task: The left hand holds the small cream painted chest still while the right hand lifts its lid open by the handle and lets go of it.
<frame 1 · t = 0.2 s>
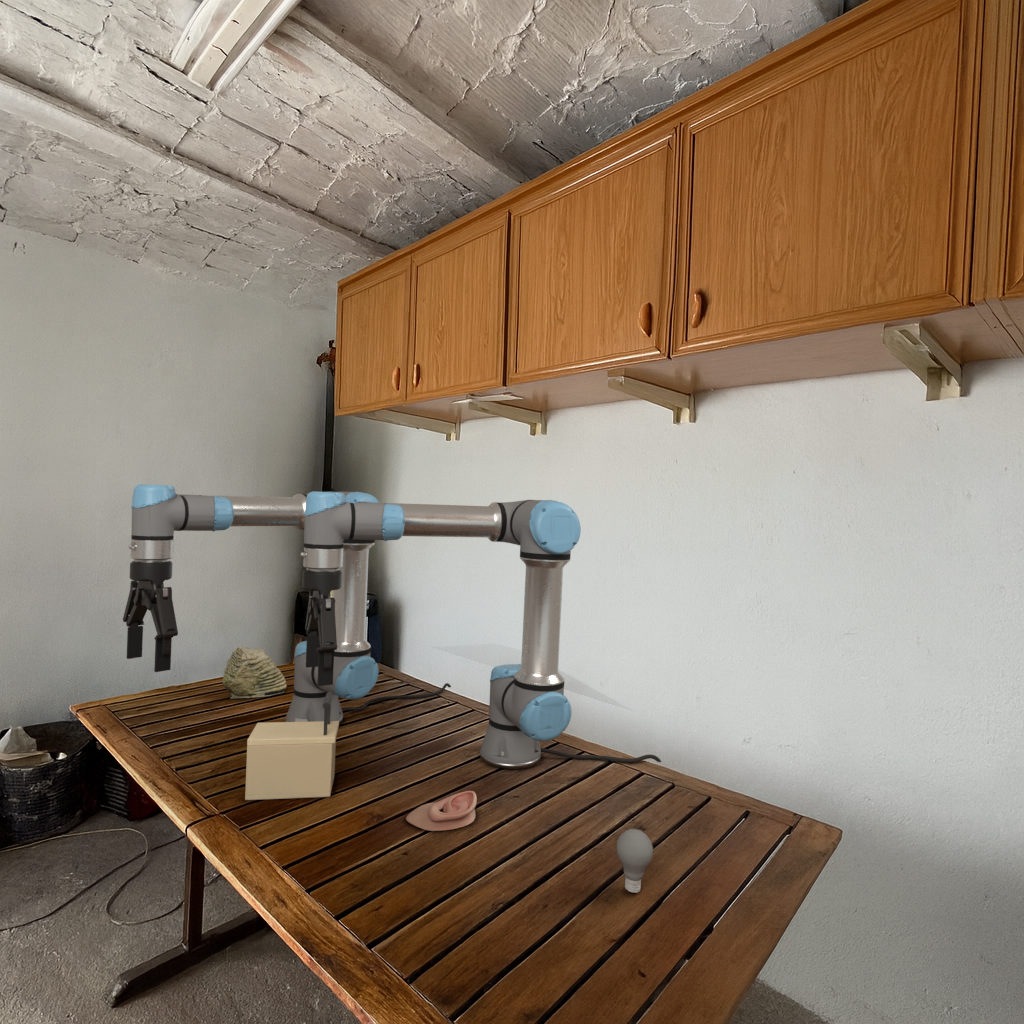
left hand: (147, 664, 129), 28 cm above the table, tool pointing down, fingers open, 13 cm apart
right hand: (318, 675, 126), 28 cm above the table, tool pointing down, fingers open, 13 cm apart
chest: (291, 787, 137), on the table
fossil: (254, 694, 198), on the table
light bulb: (632, 891, 106), on the table
anatomical model: (441, 818, 127), on the table
lid: (295, 716, 137), point 16 cm above the table, hinge at 0.0°
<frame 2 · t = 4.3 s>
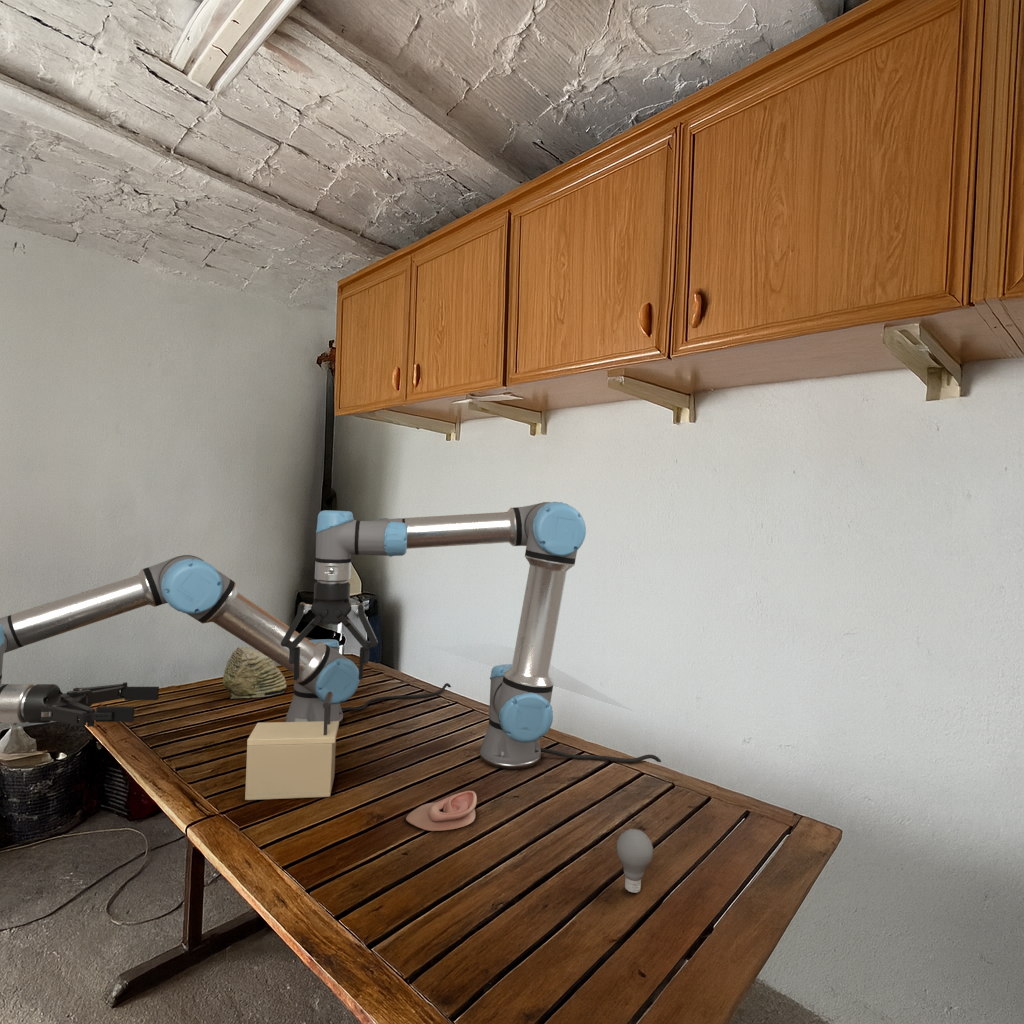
left hand: (146, 703, 132), 19 cm above the table, tool horizontal, fingers open, 13 cm apart
right hand: (328, 678, 138), 24 cm above the table, tool pointing down, fingers open, 13 cm apart
nothing on the table moved.
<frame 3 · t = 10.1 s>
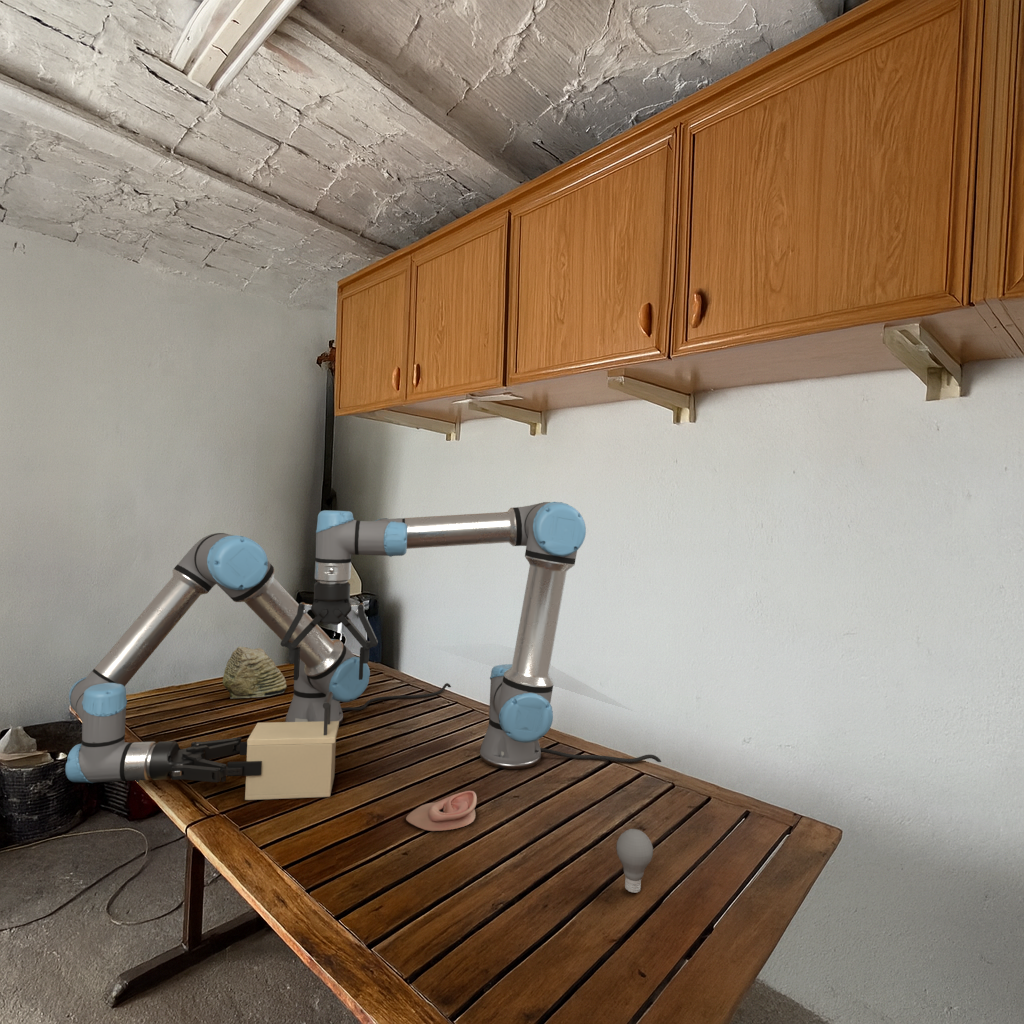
left hand: (266, 757, 136), 7 cm above the table, tool horizontal, fingers closed on chest, 10 cm apart
right hand: (328, 678, 138), 24 cm above the table, tool pointing down, fingers open, 13 cm apart
chest: (291, 787, 137), on the table, touching left hand
everything else where it was.
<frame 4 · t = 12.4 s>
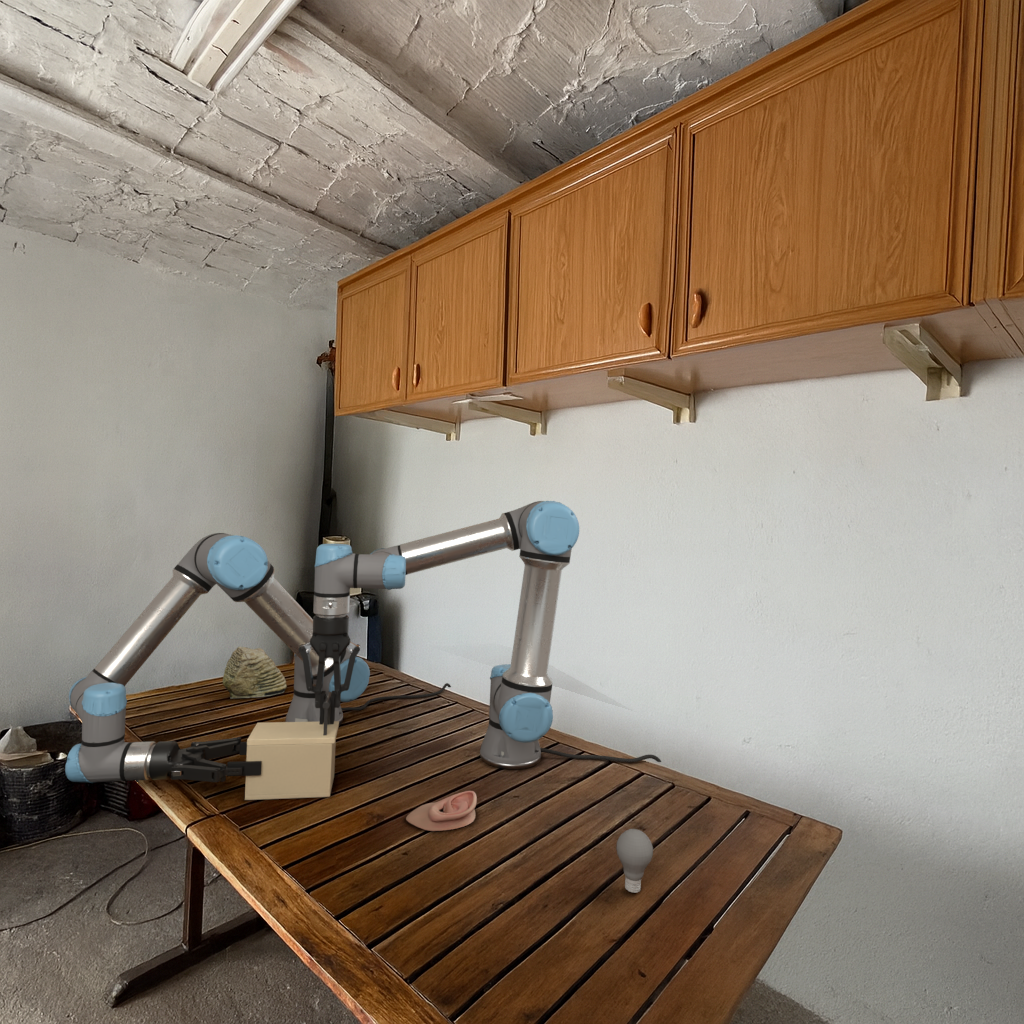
left hand: (266, 757, 136), 7 cm above the table, tool horizontal, fingers closed on chest, 10 cm apart
right hand: (327, 722, 138), 14 cm above the table, tool pointing down, fingers closed on lid, 1 cm apart
chest: (291, 787, 137), on the table, touching left hand
lid: (295, 716, 137), point 16 cm above the table, hinge at -0.1°, touching right hand
everything else where it was.
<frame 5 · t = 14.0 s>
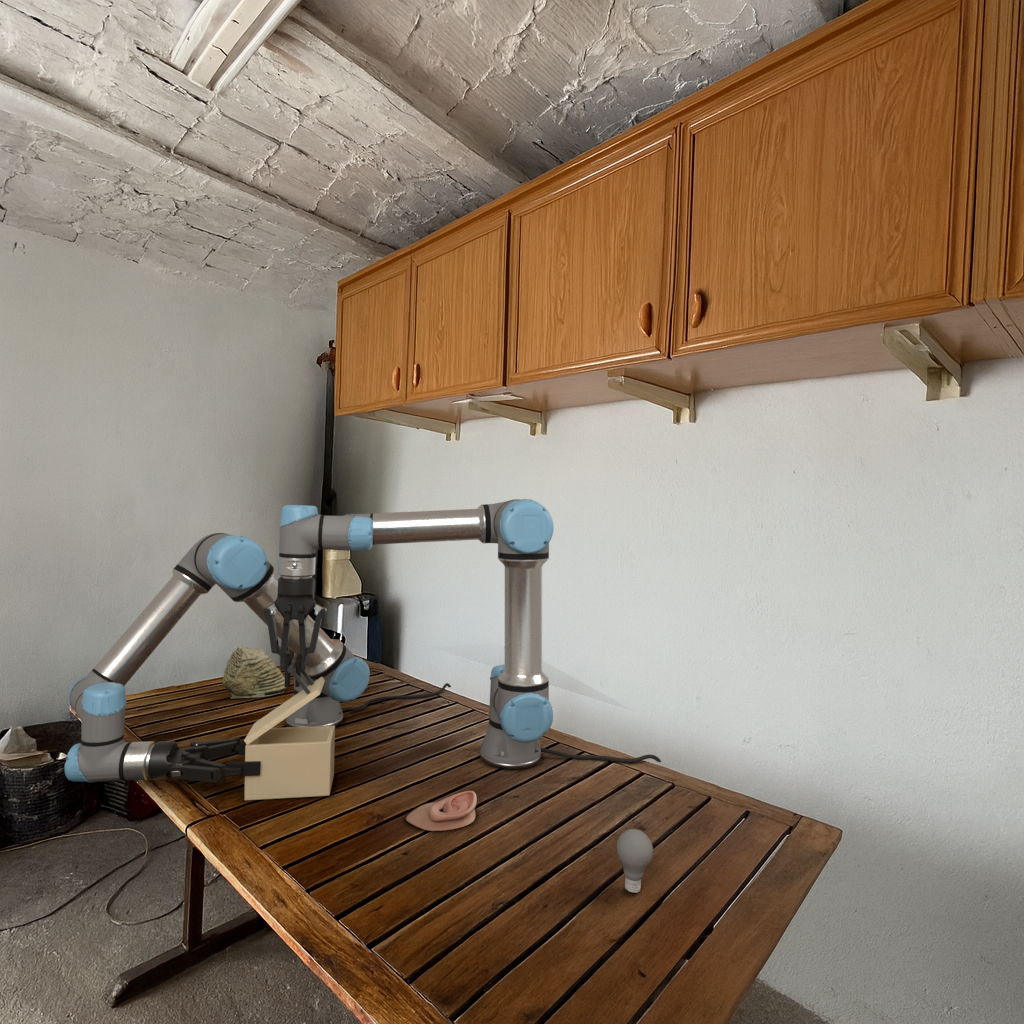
left hand: (265, 757, 136), 7 cm above the table, tool horizontal, fingers closed on chest, 10 cm apart
right hand: (292, 685, 137), 22 cm above the table, tool pointing down, fingers closed on lid, 1 cm apart
chest: (291, 787, 137), on the table, touching left hand
lid: (276, 696, 136), point 20 cm above the table, hinge at 35.4°, touching right hand
everything else where it was.
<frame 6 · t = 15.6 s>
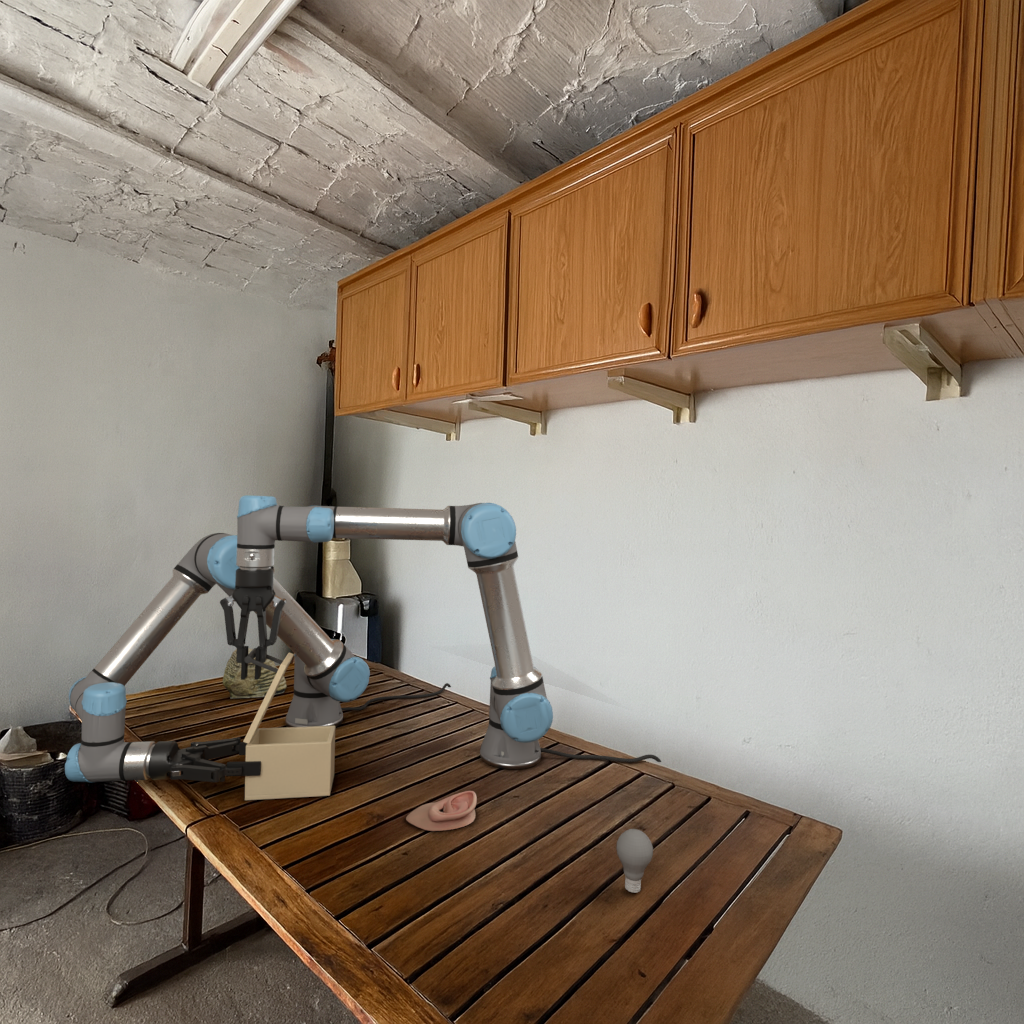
left hand: (265, 757, 136), 7 cm above the table, tool horizontal, fingers closed on chest, 10 cm apart
right hand: (250, 677, 135), 24 cm above the table, tool pointing down, fingers open, 2 cm apart
chest: (291, 787, 137), on the table, touching left hand
lid: (253, 689, 135), point 21 cm above the table, hinge at 65.9°
everything else where it was.
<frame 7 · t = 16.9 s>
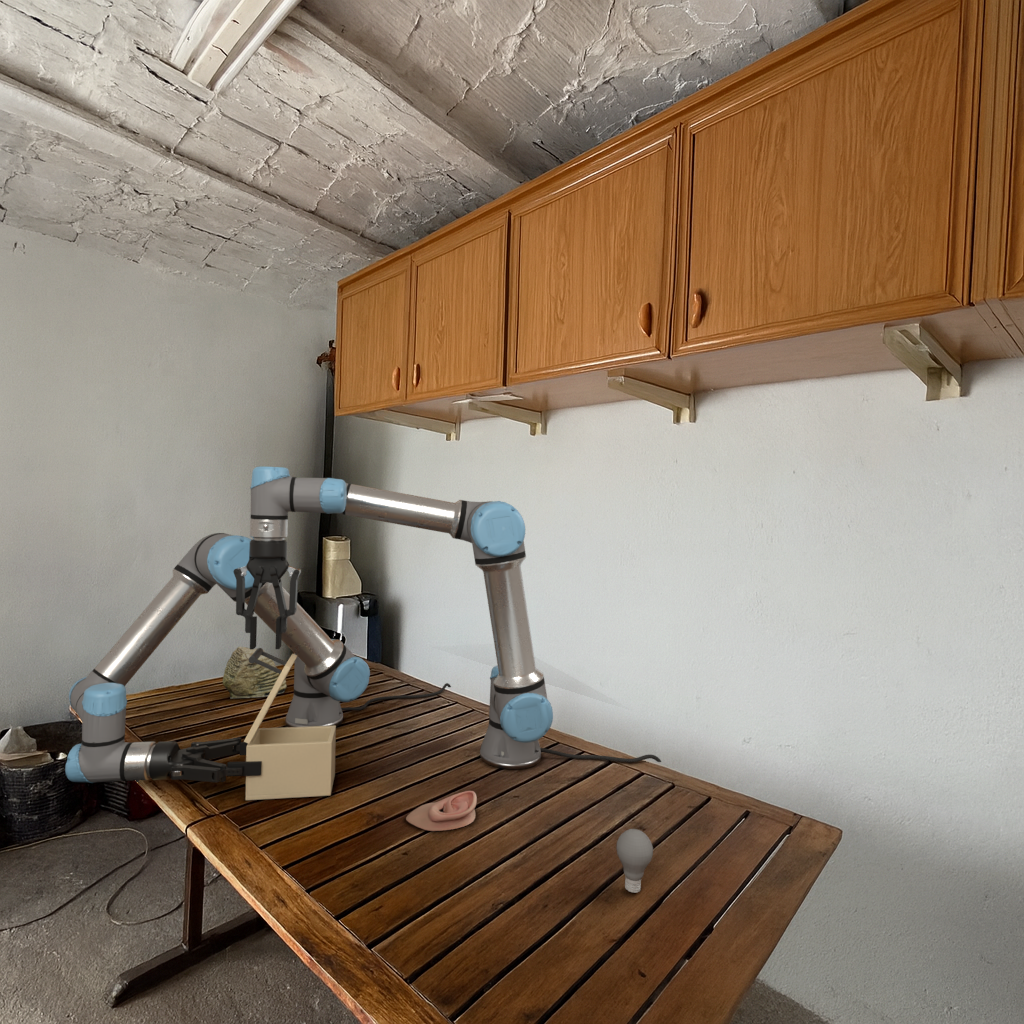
left hand: (266, 757, 136), 7 cm above the table, tool horizontal, fingers closed on chest, 10 cm apart
right hand: (265, 647, 136), 31 cm above the table, tool pointing down, fingers open, 4 cm apart
chest: (292, 787, 137), on the table, touching left hand
lid: (256, 690, 135), point 21 cm above the table, hinge at 63.4°
everything else where it was.
when the left hand's fingers open (7 cm above the table, at t = 19.4 s): chest stays where it is, on the table.
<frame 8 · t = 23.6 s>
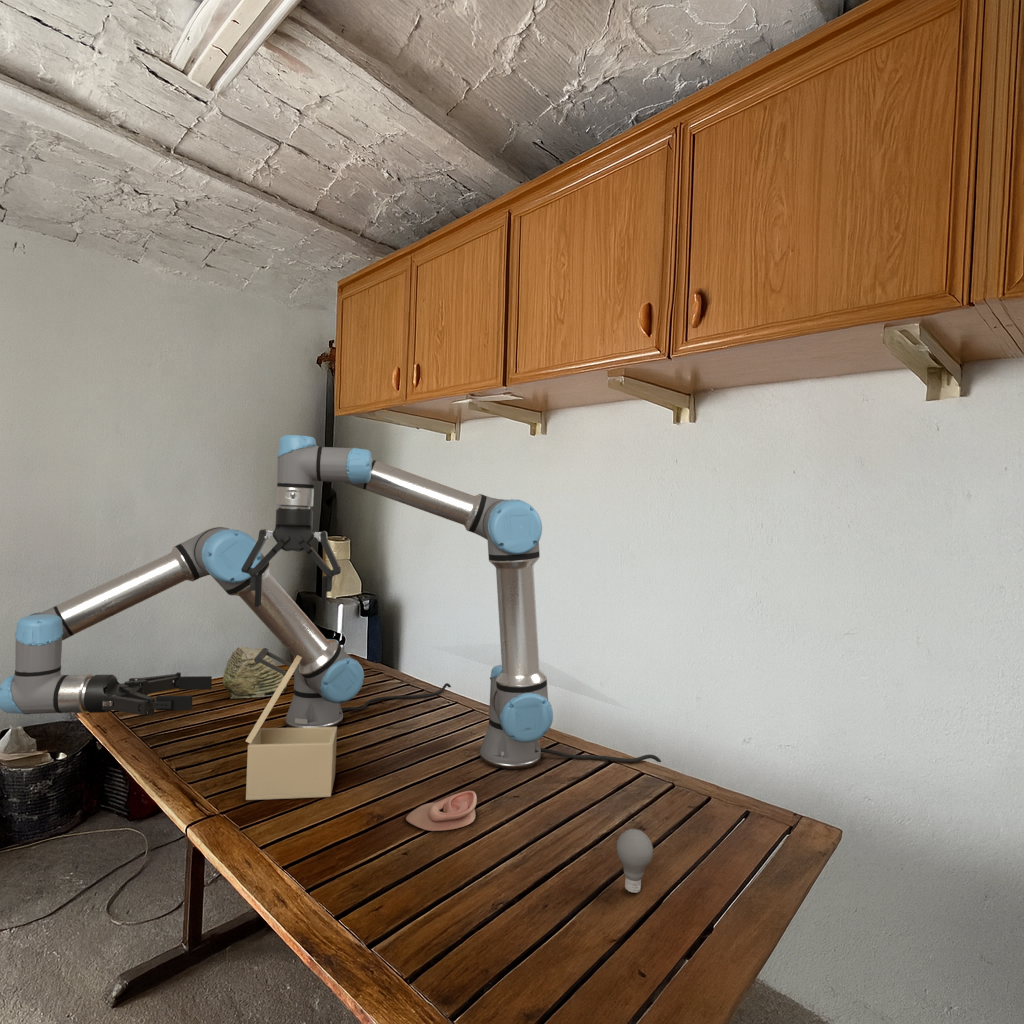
left hand: (202, 692, 133), 21 cm above the table, tool horizontal, fingers open, 13 cm apart
right hand: (291, 606, 136), 39 cm above the table, tool pointing down, fingers open, 13 cm apart
chest: (292, 787, 137), on the table
lid: (259, 689, 136), point 21 cm above the table, hinge at 61.8°
everything else where it was.
at the end: lid at +62° (first picture: +0°); the left hand is holding nothing; the right hand is holding nothing; chest tilted 0°; chest never tilted more than 2° during the clip; chest moved 0.2 cm from its start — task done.
